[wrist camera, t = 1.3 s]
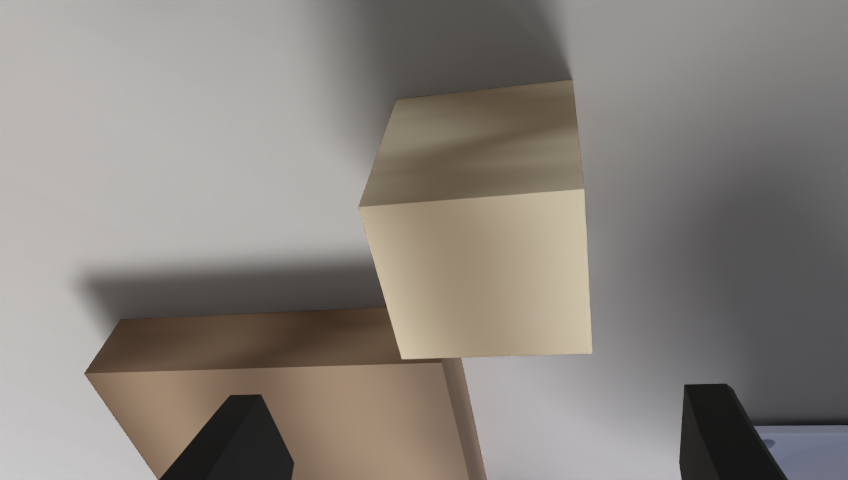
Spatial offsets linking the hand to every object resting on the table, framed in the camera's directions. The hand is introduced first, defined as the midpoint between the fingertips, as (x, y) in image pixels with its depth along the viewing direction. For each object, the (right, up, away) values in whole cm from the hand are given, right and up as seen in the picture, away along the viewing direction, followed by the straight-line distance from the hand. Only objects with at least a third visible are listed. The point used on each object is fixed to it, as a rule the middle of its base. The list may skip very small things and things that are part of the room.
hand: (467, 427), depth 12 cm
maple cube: (+1, +5, +7) cm, 9 cm away
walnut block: (-4, -4, +16) cm, 17 cm away
